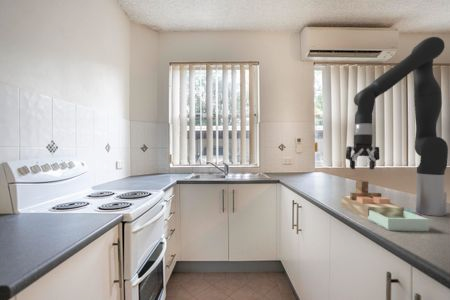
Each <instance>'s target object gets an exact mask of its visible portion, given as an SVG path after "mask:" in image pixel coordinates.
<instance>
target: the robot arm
mask: <svg viewBox="0 0 450 300" xmlns="http://www.w3.org/2000/svg"><path fill="white" fill-rule="evenodd" d="M444 50H445V41H444V40H443V39H442V38H440V37H438V36H431V37H428V38H424V39H423V40H422V41H420V42H419V43H418V44H417V45H416V46H414V47H413V49H412V50H411V53H410V54H409V55H407V56H406V57H405V58H404V59H402V60H401V61H400V62H399V63H397V64H395V65H393V66H392V67H391V68H389V69H388V70H386V71H385V72H383V74H381V75H380V76H379V77H377V78H376V79H374V80H373V81H372V83H370V84H369V85H367V86H366V87H365V88H363V89H362V90H360V91H359V92H358V93H356V94H355V95H354V96H353V103H354V105H355V106H356V108H357V109H356V112H355V114H354V128H353V146H348V145H347V146H346V151H345V159H346V160H348V161H349V168H350V169H351V170H355V169H356V159H357V158H359V157H362V156H363V157H367V158H368V159H369V165H368V167H369V170H374V169H375V166H376V161H379V160H380V157H381V156H380V147H379V146H373V133H374V132H373V131H374V130H373V113H374V109H375V108H374V107H375V103H376V99H377V98H378V97H380V96H381V95H382V94H384V93H386V92H388V91H389V90H390V89H392V88H393V87H394V86H395V85H396V84H399V82H401V81H402V80H403V79H404V78H405V77H407V76H408V75H409V74H410V73H412V74H413V93H414V95H413V98H414V99H413V100H414V114H415V116H414V117H415V118H414V119H415V138H414V151H415V153H416V154H417V155H418V156H419V157H420V159H419V160H420V161H419V165H418V166H417V167H416V194H415V196H416V197H415V199H416V200H415V202H416V203H415V205H416V206H415V211H416V212H415V213H417V214H420V215H428V216H433V217H434V216H435V217H442V216H446V215H447V195H448V194H447V192H445V174H446V172H445V171H446V169H447V166H448V157H449V147H448V143H447V141H446V139H444V138H442V137H439V136H438V135H437V123H438V120H439V117H440V114H441V110H442V104H443V101H442V100H443V99H442V98H443V97H442V89H441V87H440V84H439V83H438V81H437V79H436V77H435V75H434V70H433V69H434V68H433V67H434V59H437V58H438V57H439V56H440V55H442V53H443V51H444ZM352 152H353V153H352ZM372 152H373V153H372Z"/></svg>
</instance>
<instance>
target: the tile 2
mask: <svg viewBox="0 0 450 300" xmlns="http://www.w3.org/2000/svg"><path fill="white" fill-rule="evenodd" d="M373 202H376V203H379V204H390V203H391V199H390V198H388V197H386V196H381V197H373Z"/></svg>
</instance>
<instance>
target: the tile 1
mask: <svg viewBox="0 0 450 300" xmlns="http://www.w3.org/2000/svg"><path fill="white" fill-rule="evenodd" d="M357 202H360V203H362V204H373V199H372V198H369V197H357Z"/></svg>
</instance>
